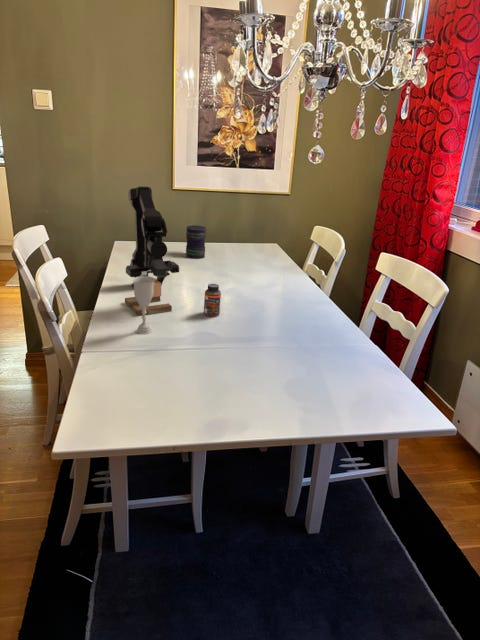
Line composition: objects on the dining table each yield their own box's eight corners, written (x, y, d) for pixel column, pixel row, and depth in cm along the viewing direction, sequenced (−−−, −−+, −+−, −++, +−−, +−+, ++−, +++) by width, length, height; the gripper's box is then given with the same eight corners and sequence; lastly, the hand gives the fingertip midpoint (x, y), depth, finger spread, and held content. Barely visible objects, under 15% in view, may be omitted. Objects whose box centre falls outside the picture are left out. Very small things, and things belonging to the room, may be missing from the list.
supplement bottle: (205, 317, 177) (206, 287, 172) (202, 311, 182) (203, 282, 178) (221, 316, 178) (223, 287, 174) (217, 310, 184) (219, 282, 179)
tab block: (145, 292, 183) (144, 279, 181) (155, 290, 185) (155, 278, 183) (150, 297, 178) (150, 284, 176) (161, 295, 180) (161, 283, 178)
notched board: (124, 303, 185) (124, 298, 184) (157, 298, 191) (157, 293, 190) (137, 316, 174) (137, 310, 173) (171, 311, 180) (171, 306, 179)
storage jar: (183, 254, 254) (183, 225, 248) (200, 253, 258) (201, 225, 252) (189, 259, 245) (190, 230, 240) (207, 258, 249) (209, 229, 244)
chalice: (146, 325, 167) (145, 274, 160) (159, 331, 163) (159, 279, 156) (128, 331, 162) (127, 279, 155) (142, 337, 158) (141, 284, 151)
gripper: (135, 258, 164) (136, 301, 170) (186, 254, 174) (185, 295, 180) (124, 250, 173) (125, 291, 179) (173, 246, 182) (172, 285, 188)
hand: (152, 291), depth 181 cm, fingers closed on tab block, 4 cm apart
